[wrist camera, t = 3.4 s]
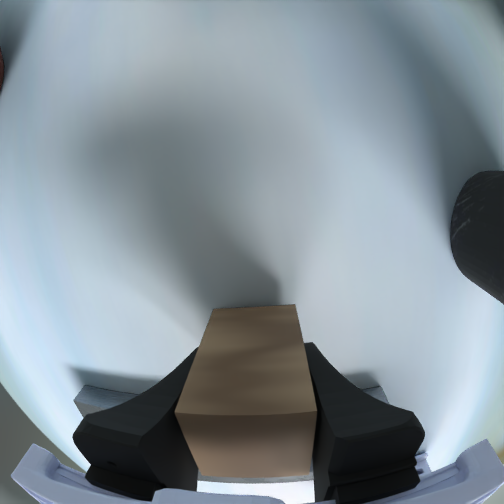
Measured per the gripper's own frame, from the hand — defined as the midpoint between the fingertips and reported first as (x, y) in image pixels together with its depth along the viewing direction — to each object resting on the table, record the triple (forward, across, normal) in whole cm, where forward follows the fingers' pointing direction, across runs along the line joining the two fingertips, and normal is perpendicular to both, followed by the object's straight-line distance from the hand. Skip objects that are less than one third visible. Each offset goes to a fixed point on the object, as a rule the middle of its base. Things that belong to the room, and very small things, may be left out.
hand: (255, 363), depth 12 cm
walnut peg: (+2, 0, 0) cm, 2 cm away
